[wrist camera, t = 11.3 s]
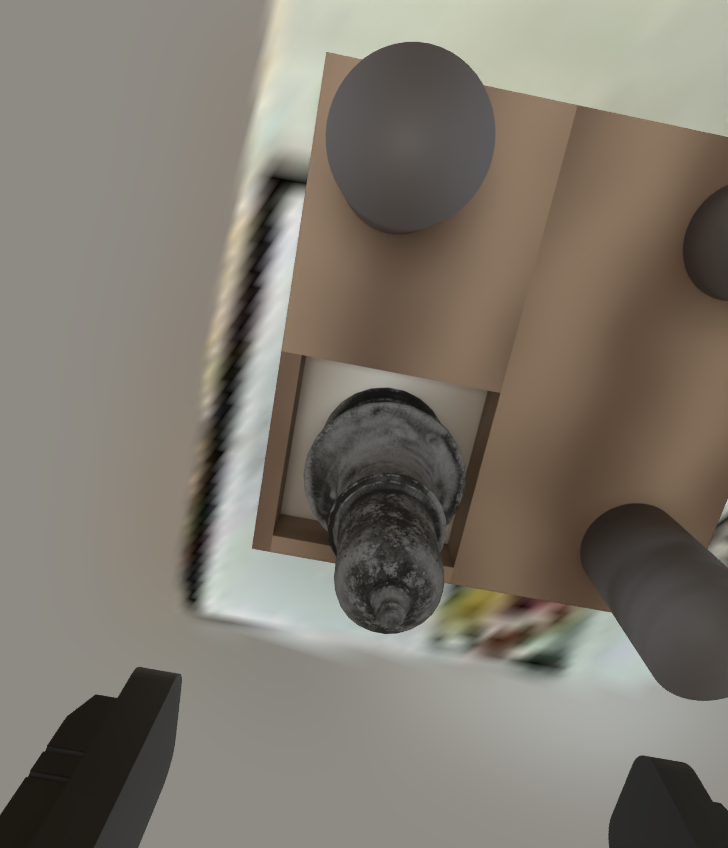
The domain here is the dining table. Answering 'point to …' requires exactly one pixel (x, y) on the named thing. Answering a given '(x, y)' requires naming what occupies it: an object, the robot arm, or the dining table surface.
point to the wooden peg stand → (524, 339)
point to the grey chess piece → (385, 505)
